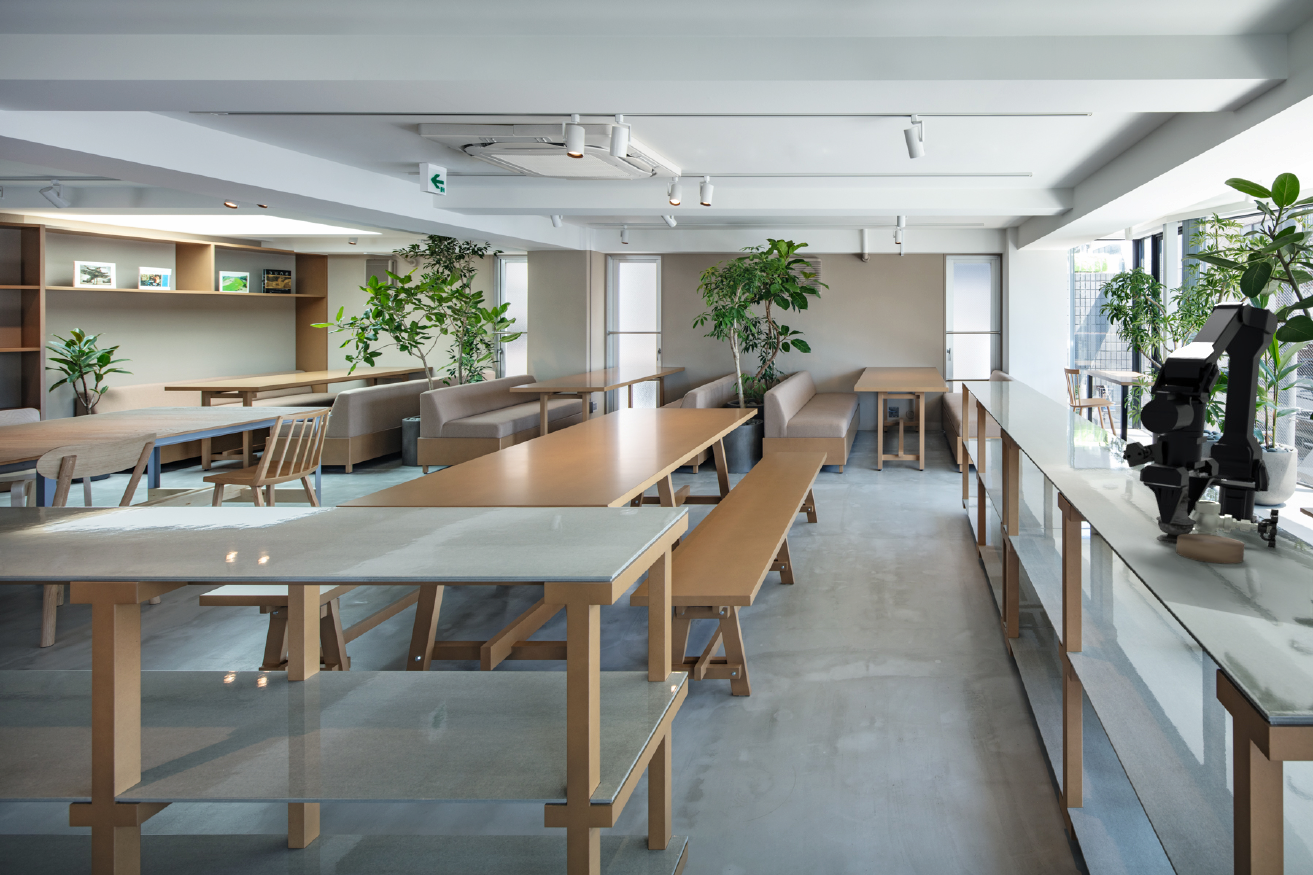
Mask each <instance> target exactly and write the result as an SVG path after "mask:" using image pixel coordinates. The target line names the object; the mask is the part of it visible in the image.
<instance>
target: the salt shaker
mask: <svg viewBox="0 0 1313 875" xmlns="http://www.w3.org/2000/svg"><path fill="white" fill-rule="evenodd" d="M1184 486H1188V488H1187V490H1186V492H1185V494H1184V496H1183V498H1182V500H1181V502H1180V504H1179V506H1178V508H1177V510H1176V512H1175V514H1174V516H1173V518H1172V520H1171V522H1170V523H1169V524H1164V523H1162V521H1161V517H1160V516H1156V518H1155V519H1156V520H1157V525H1158V528H1159V529H1160V531H1161V532H1163V533H1164V534H1160V535H1158V536H1156V539H1157V540H1158V541H1161V542H1163V543H1167V544H1168V543H1169V544H1174V545H1175V544H1176V545H1177V536H1178V535H1181V534H1191V533H1192V530H1193V528H1194V524H1196V521H1195V520H1192V518H1191V517H1190V516H1188V513H1187V506H1188V501H1189V500H1190V499H1189V498H1188V489H1189V481H1188V482H1187V484H1186V485H1184Z"/></svg>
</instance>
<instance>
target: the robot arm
mask: <svg viewBox="0 0 1313 875" xmlns="http://www.w3.org/2000/svg"><path fill="white" fill-rule="evenodd" d="M1277 330H1278V316H1277V315H1276V314H1275V313H1274V312H1272V311H1271V309H1269V308H1262V307H1261V308H1260V307H1258V306H1253V305H1252V304H1250V303H1245V302H1242V301H1241V302H1219V303H1218V304H1217V303H1216V304H1214V305H1213V307H1212V309H1211V314H1210V316H1209V317H1208V319H1207V320H1206V321H1205V323H1204V324H1203V325H1202V327H1201V328H1200V329H1199V331H1198V332H1197V333H1196V335H1195V336H1194V338H1193V339H1192V340H1191V341H1190V343H1189V344H1188V345H1186V346H1183V347H1180V348H1177V349H1175V350H1174V351H1173V352H1172V353H1170V355H1169V356H1167V358H1166V359H1165V361H1164V362H1162V364H1161V366H1160V369H1159V370H1158V373H1157V376H1156V378H1155V381H1154V383H1153V385H1152V388H1151V391H1150V394H1151V396H1152V395H1153V396H1154V399H1151V400H1149V401H1148V402H1147V403H1145V404H1144V406H1143V407H1142V408H1141V411H1140V414H1139V416H1140V417H1139V419H1140V423H1141V425H1142V426H1143V427H1144V428H1145V429H1146V430H1147V431H1148V432H1150V433H1153V434H1157V435H1158V436H1157V437H1156V438H1157V439H1156V443H1152V444H1147V445H1143V444H1142V443H1141V442H1140V441H1134V442H1130V443H1126V446H1125V450H1123V455H1122V459H1123V460H1125V461H1127V463H1128V467H1129V468H1133V467H1137V466H1141V465H1145V464H1147V463H1151V464H1147V465H1145V466H1144V467H1142V468H1141V469H1140V470H1139V471H1140V474H1139V481H1140V482H1142V484H1143V485H1144V487H1147V488H1148V489H1150V491H1152V492H1153V494H1154V497H1155V501H1156V503H1157V509H1158V513H1159V515H1160V517H1161V521H1162V523H1164V524H1169V523H1170V522H1171V520H1172V518H1173V516H1174V514H1175V512H1176V510H1177V508H1178V506H1179V504H1180V502H1181V500H1182V498H1183V496H1184V494H1185V492H1186V490H1187V488H1188V486H1184V485H1186V484H1187V482H1188V481H1189V489H1188V498H1189V499H1190V500H1189V501H1188V506H1187V513H1188V517H1190V516H1191V514H1192V512H1193V511H1194V507H1195V504H1196V501H1199V500H1201V498H1202V497H1203V496H1204V494H1205V492H1206V491H1207V490H1208V488H1209V487H1211V486H1215V487H1216V486H1217V487H1219V488H1218V498H1217V502H1218V503H1220V504H1221V507H1220V513H1218V515H1219V516H1225V515H1232V519H1236V520H1237V521H1240V522H1241V520H1250V521H1251V523H1254V524H1255V522H1256V520H1257V518H1258V517H1257V515H1255V514H1254V511H1255V502H1256V501H1255V499H1256V493H1260V492H1269V486H1270V475H1269V472H1268V469H1267V466H1266V462H1265V460H1264V459H1263V447H1262V446H1261V444H1260V443H1259V442H1258V440H1257V439H1256V437H1255V435H1254V432H1255V421H1256V420H1255V419H1256V409H1257V399H1258V398H1257V397H1258V386H1259V385H1258V384H1259V374H1260V364H1261V356H1262V355H1264V353H1265V352H1266V351H1267V349H1268V348H1269V347H1270V346H1271V344H1272V343H1273V338H1274V335H1275V334H1276V332H1277ZM1224 351H1225V353H1226V354H1227V355H1228V357H1229V358H1228V360H1229V361H1228V371H1227V380H1226V381H1227V383H1226V384H1227V385H1226V395H1225V408H1224V409H1225V410H1224V418H1223V419H1224V420H1223V429H1222V430H1223V431H1222V435H1221V436H1220V438H1218V440H1217V441H1216V442H1215V443H1214V442H1213V444H1212V445H1211V446H1210V455H1209V456H1208V457H1206V456H1205V457H1203V445H1204V443H1208V435H1204V434H1205V422H1206V411H1207V403H1209V401H1210V398H1209V396H1208V395H1209V394H1211V393H1212V391H1213V389H1214V387H1215V385H1216V384H1217V382H1218V379H1219V377H1220V375H1221V372H1220V369H1219V365H1218V361H1219V359H1220V357H1221V356H1222V355H1223V353H1224ZM1152 462H1153V463H1152ZM1206 474H1207V475H1206Z"/></svg>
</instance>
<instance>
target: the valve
mask: <svg viewBox="0 0 1313 875" xmlns="http://www.w3.org/2000/svg"><path fill="white" fill-rule="evenodd" d="M1220 507H1221V504H1220V503H1218V501H1213V500H1205V499H1204V500H1203V499H1200V500H1199V501H1196V504H1195V507H1194V509H1193V511H1194V512H1193V514H1192V516H1191V519H1192V520H1195V521H1196V524H1194V528H1193V530H1192V531H1191V534H1208V535H1216V536H1219V531H1218V530H1222V531H1223V532H1224V533H1231V531H1233V530H1234V531H1235V530H1236V529H1240V530H1239V531H1242V532H1250V531H1251V530H1255V531H1257V532H1256V533H1257V534H1259V537H1260V539H1261V540H1262V541H1265V542H1267V548H1273V549H1275V548H1276V544H1277V540H1276V536H1277V534H1278V523H1279V513H1280V512H1279V511H1280V510H1279V509H1277V508H1271V510H1270V513H1269V514H1270V515H1269V517H1270V518H1263V519H1261V520H1258V522H1257V523H1255V522H1254V523H1251V521H1250V520H1241V522H1240V521H1237V520H1236V519H1232V515H1225V516H1219V515H1218V513H1220ZM1265 535H1267V537H1266V536H1265Z"/></svg>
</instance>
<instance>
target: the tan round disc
mask: <svg viewBox="0 0 1313 875" xmlns="http://www.w3.org/2000/svg"><path fill="white" fill-rule="evenodd" d="M1175 552H1176V554H1177V555H1179V556H1181V557H1183V558H1187V559H1190V560H1195V561H1199V562H1205V563H1206V562H1207V563H1212V564H1214V563H1215V564H1228V565H1229V564H1230V565H1231V564H1238V563H1242V562H1243V561H1244V556H1245V554H1244V553H1245V543H1244V542H1242V541H1241V540H1237V539H1234V538H1230V537H1227V536H1226V537H1225V536H1221V535H1218V536H1216V535H1208V534H1192V533H1189V534H1181V535H1178V536H1177V544H1176V550H1175Z"/></svg>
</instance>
